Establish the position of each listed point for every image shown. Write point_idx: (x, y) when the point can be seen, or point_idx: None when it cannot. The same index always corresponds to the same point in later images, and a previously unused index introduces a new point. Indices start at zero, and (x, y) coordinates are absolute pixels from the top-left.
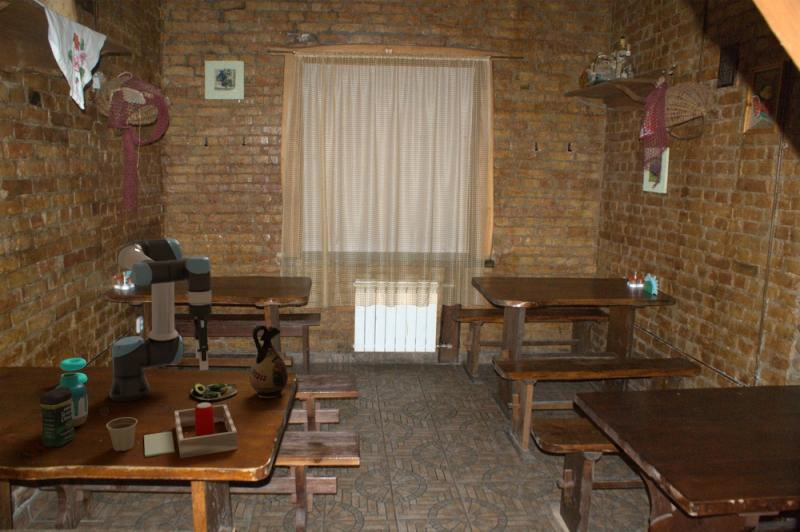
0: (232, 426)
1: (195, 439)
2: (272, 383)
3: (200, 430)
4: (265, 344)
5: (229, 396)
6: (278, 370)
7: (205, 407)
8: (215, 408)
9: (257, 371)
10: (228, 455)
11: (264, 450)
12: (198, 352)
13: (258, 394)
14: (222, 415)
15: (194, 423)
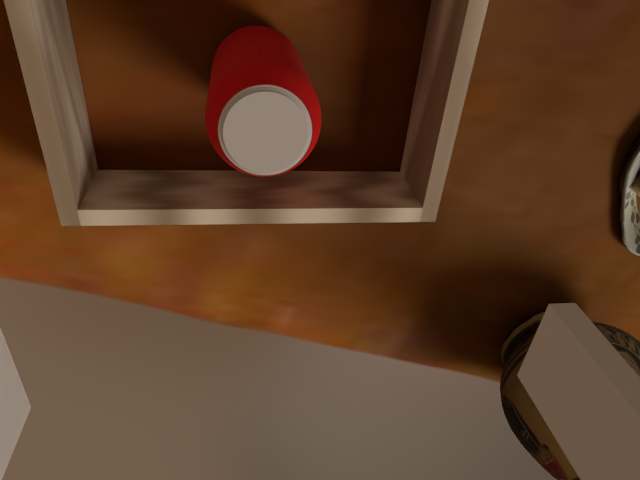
0: (141, 216)
1: (7, 6)
2: (510, 398)
3: (216, 57)
4: None
5: (621, 225)
6: (538, 457)
7: (221, 137)
8: (427, 169)
9: None
10: (23, 141)
11: (50, 271)
12: (584, 391)
13: None
14: (408, 180)
15: (426, 42)
